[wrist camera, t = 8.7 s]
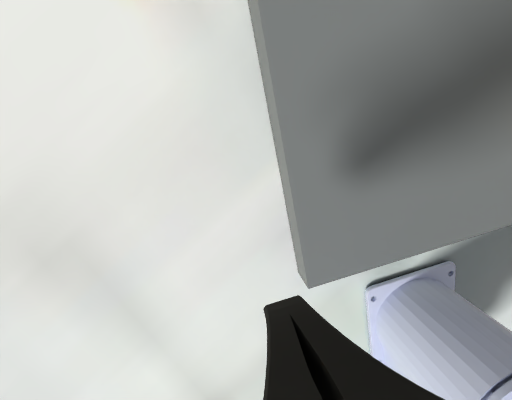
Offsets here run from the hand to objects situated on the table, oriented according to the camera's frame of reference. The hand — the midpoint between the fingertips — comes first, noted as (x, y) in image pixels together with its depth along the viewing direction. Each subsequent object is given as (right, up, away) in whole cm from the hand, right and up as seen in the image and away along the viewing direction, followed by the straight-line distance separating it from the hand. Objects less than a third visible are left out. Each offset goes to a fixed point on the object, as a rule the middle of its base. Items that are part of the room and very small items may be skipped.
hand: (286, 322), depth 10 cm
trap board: (+13, +11, +9) cm, 19 cm away
